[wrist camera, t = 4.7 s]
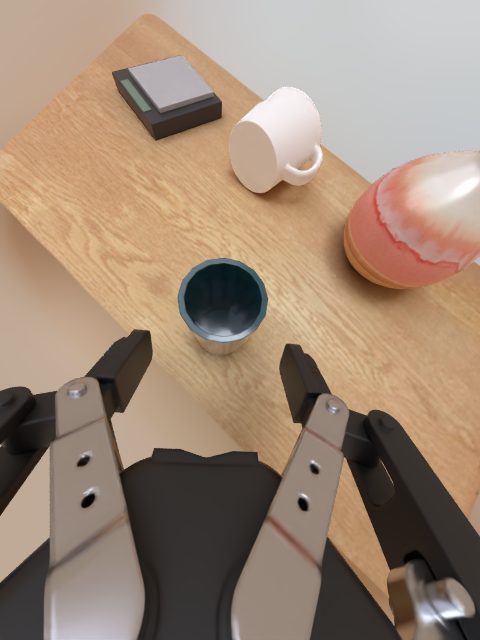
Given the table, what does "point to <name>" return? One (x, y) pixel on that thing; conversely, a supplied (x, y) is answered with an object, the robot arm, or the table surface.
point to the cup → (222, 304)
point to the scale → (168, 96)
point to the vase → (417, 222)
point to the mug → (277, 141)
